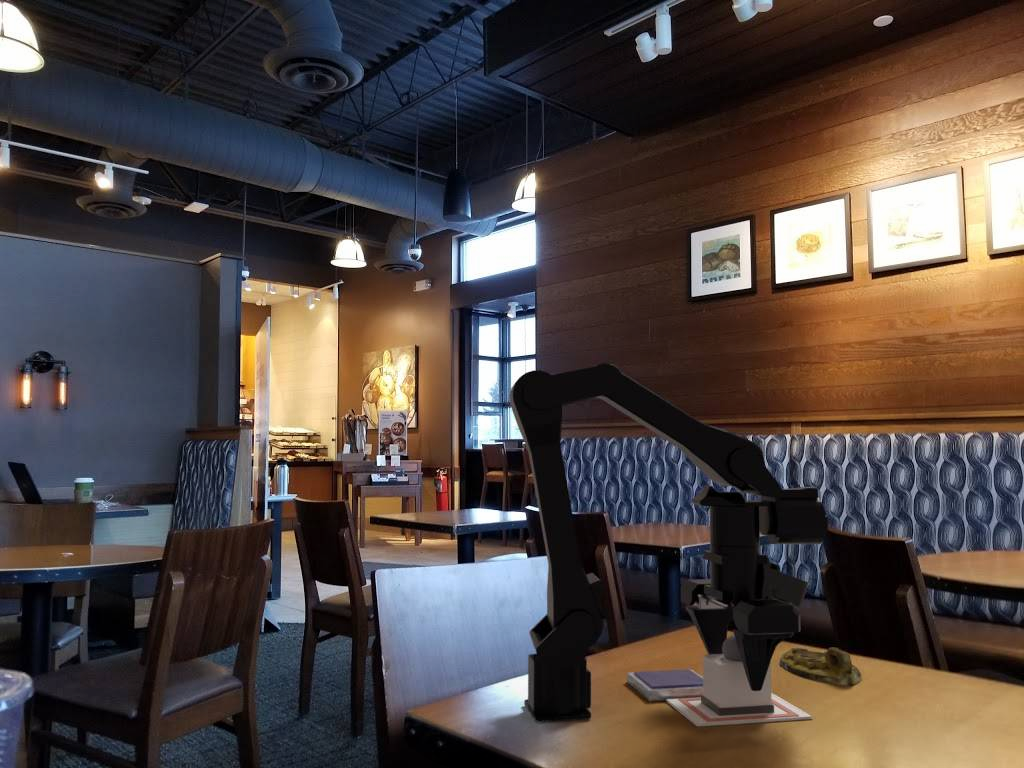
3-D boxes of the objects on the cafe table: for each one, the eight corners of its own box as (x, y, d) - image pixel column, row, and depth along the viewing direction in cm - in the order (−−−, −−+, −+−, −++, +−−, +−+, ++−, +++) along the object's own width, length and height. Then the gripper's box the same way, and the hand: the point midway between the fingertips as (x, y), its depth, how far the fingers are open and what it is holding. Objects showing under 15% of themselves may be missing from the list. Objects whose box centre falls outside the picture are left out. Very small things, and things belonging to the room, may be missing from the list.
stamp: (774, 712, 91) (772, 639, 91) (719, 715, 89) (718, 641, 90) (753, 699, 95) (752, 630, 96) (701, 702, 94) (700, 632, 95)
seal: (762, 666, 116) (823, 697, 102) (758, 634, 117) (818, 659, 102) (818, 656, 118) (885, 684, 104) (814, 624, 119) (880, 648, 104)
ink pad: (649, 701, 95) (649, 688, 96) (626, 681, 103) (626, 670, 103) (718, 697, 97) (718, 685, 97) (691, 678, 105) (691, 667, 105)
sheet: (696, 726, 87) (696, 722, 87) (666, 701, 95) (666, 698, 95) (811, 719, 90) (811, 715, 90) (772, 695, 98) (772, 692, 98)
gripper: (843, 553, 86) (846, 700, 85) (757, 534, 105) (759, 655, 103) (749, 555, 84) (751, 705, 83) (678, 535, 102) (679, 659, 101)
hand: (736, 678), depth 93 cm, fingers open, 9 cm apart
